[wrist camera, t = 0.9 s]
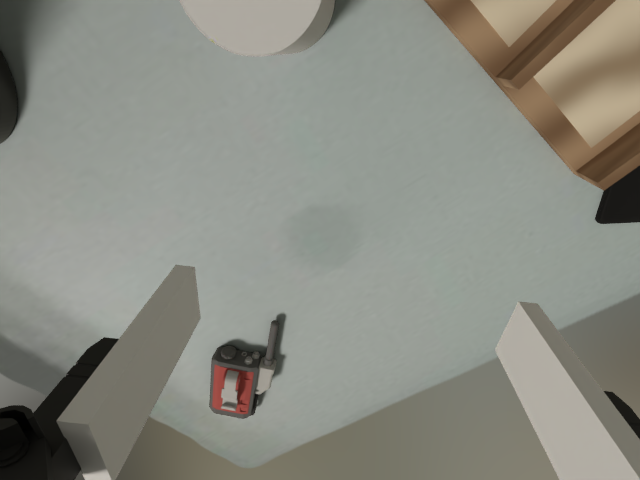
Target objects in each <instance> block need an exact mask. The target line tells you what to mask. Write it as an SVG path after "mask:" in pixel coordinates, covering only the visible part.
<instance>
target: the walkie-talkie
mask: <svg viewBox="0 0 640 480" xmlns="http://www.w3.org/2000/svg"><path fill="white" fill-rule="evenodd" d="M278 327H279V323H278V322H277V321H276V320H274V321H272V322H271V328H270V334H269V340H268V346H267V352H266V355H265V357H262V356H261V355H260V354H259V352H257V351H255V352H254V353H250V352H245V351H239V350H236V348H235V347H233V346H226V347H218V348H217V350H216V352H215V353H214V355H213V357H212V364H211V383H210V384H211V385H210V386H211V387H210V402H209V403H210V404H209V405H210V406H209V407H210V408H211V410H212V411H213V412H214V413H216V414H221V415H226V416H232V417H237V418H242V419H244V418H247V417H248V416H251V415H253V414H254V413H255V410H256V404H257V398H258V395H260V394H262V392H264V391H266V390H267V389H269V388H270V386H271V382H272V378H273V374H274V372H275V367H276V363H277V360H276V359H274V356H273V355H274V349H275V344H276V339H277V333H278Z"/></svg>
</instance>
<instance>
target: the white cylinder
mask: <svg viewBox="0 0 640 480" xmlns="http://www.w3.org/2000/svg"><path fill="white" fill-rule="evenodd" d="M179 1H180V3H181V5H182V7H183V8H184V10H185V12H186V13H187V15H188V17H189V18H190V19H191V21H192V22H193V23H194V25H195V26H196V27H197V28H198V29H199V30H200V31H201V32H202V33H203V34H204V35H205V36H206V37H207V38H208V39H209V40H211V41H212V42H213V43H215V44H216V45H218V46H220V47H221V48H223V49H225V50H227V51H230V52H232V53H235V54H239V55H243V56H270V55H282V54H293V53H298V52H301V51H304V50H306V49H308V48H309V47H311V46H312V45H314V44H315V43H316V42H317V41H318V40H319V39H320V38H321V37H322V35H323V34H324V33H325V31H326V29H327V28H328V26H329V23H330V21H331V18H332V15H333V11H334V6H335V0H179Z"/></svg>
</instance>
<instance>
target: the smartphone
mask: <svg viewBox="0 0 640 480" xmlns="http://www.w3.org/2000/svg"><path fill="white" fill-rule="evenodd" d="M595 220H596V221H597V222H598V223H601V224H610V223H631V222H640V166H638V167H637V168H635V169H634V170H632V171H631V172H630V173H628V174H627V175H625V176H624V177H623V178H621V179H620V180H618V181H617V182H615V183H614V184H613V185H611V186H610V187H608V188H607V189H606V190H604V192H603V195H602V199H601V202H600V205H599V208H598V211H597V214H596V217H595Z"/></svg>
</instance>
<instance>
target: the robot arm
mask: <svg viewBox="0 0 640 480" xmlns="http://www.w3.org/2000/svg"><path fill="white" fill-rule="evenodd" d="M16 117H17V95H16V89H15V85H14V81H13V78H12V75H11V73H10V70H9V68H8V65H7V63H6V61H5V59H4V57H3V55H2V53H1V52H0V144H1V143H2V142H3V141H4V140H6V138H7V137H8V136H9V135H10V133H11V132H12V130H13V128H14V125H15V122H16ZM199 320H200V309H199V301H198V292H197V283H196V275H195V267H190V266H181V265H175V267H174V268H173V269H172V271H171V272H170V273H169V275H168V276H167V277H166V279H165V280H164V281H163V282H162V284H161V285H160V286H159V288H158V289H157V290H156V292H155V293H154V294H153V295H152V297H151V298H150V299H149V301H148V302H147V303H146V305H145V306H144V307H143V309H142V310H141V311H140V312H139V314H138V315H137V316H136V318H135V319H134V320H133V322H132V323H131V324H130V325H129V327H128V328H127V329H126V331H125V332H124V333H123V335H122V336H121V337H120V339H113V338H103V339H101V340H100V341H98V342H97V343H95V344H94V345H93V346H91V347H90V348H88V349H87V350H86V352H85V353H84V354H83V355H82V356H81V357H80V359H79V360H78V361H77V362H76V365H75V366H73V367H72V368H71V369H70V371H69V372H68V373H67V374H66V377H64V378H63V379H62V380H61V381H60V382H59V384H58V385H57V386H56V387H55V388H54V389H53V391H52V392H51V393H50V394H49V395H48V397H47V398H46V399H45V400H44V401H43V402H42V404H41V405H40V406H39V407H38V408H37V410H36V411H35V412H34V413H32V411H31V409H29V408H27V407H25V406H8V407H5V408H1V409H0V480H74V479H75V478H76V476H77V475H78V473H79V472H80V470H81V472H82V474H83V476H84V478H85V480H115V479H116V478H117V476H118V474H119V472H120V470H121V468H122V466H123V464H124V462H125V460H126V458H127V457H128V455H129V453H130V451H131V449H132V447H133V445H134V443H135V441H136V440H137V438H138V436H139V434H140V432H141V430H142V428H143V426H144V424H145V422H146V421H147V419H148V417H149V415H150V413H151V411H152V409H153V407H154V405H155V404H156V402H157V400H158V398H159V396H160V394H161V392H162V390H163V388H164V386H165V385H166V383H167V381H168V379H169V377H170V375H171V373H172V371H173V369H174V367H175V366H176V364H177V362H178V360H179V358H180V356H181V354H182V352H183V350H184V348H185V347H186V345H187V343H188V341H189V339H190V337H191V335H192V333H193V331H194V329H195V328H196V326H197V324H198V322H199ZM495 351H496V353H497V355H498V357H499V359H500V361H501V363H502V365H503V367H504V369H505V371H506V373H507V375H508V377H509V379H510V381H511V383H512V385H513V387H514V389H515V391H516V393H517V395H518V397H519V399H520V401H521V403H522V405H523V407H524V409H525V411H526V413H527V415H528V417H529V419H530V421H531V423H532V425H533V427H534V429H535V431H536V433H537V435H538V437H539V439H540V441H541V443H542V445H543V447H544V449H545V451H546V453H547V455H548V457H549V459H550V461H551V463H552V465H553V467H554V469H555V471H556V473H557V475H558V477H559V479H560V480H640V419H639V418H638V417H637V415H636V414H635V413H634V412H633V410H632V409H631V408H630V407H629V406H628V405H627V404H626V403H625V402H623V401H622V400H621V399H620V398H619V397H617V396H616V395H615V394H614V393H613V392H607V391H603V390H602V389H601V387H600V386H599V385H598V383H597V382H596V381H595V379H594V378H593V377H592V375H591V374H590V373H589V371H588V370H587V369H586V367H585V366H584V365H583V363H582V362H581V361H580V359H579V358H578V357H577V356H576V354H575V353H574V352H573V350H572V349H571V348H570V346H569V345H568V344H567V342H566V341H565V340H564V338H563V337H562V336H561V334H560V333H559V332H558V330H557V329H556V328H555V326H554V325H553V324H552V322H551V321H550V320H549V318H548V317H547V316H546V314H545V313H544V312H543V310H542V309H541V308H540V306H539V305H538V304H536V303H527V302H518V303H517V305H516V308H515V310H514V312H513V314H512V316H511V318H510V320H509V322H508V324H507V326H506V328H505V330H504V332H503V334H502V336H501V339H500V341H499V343H498V345H497V347H496V349H495Z"/></svg>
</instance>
